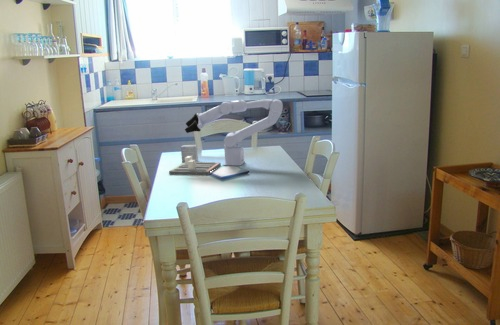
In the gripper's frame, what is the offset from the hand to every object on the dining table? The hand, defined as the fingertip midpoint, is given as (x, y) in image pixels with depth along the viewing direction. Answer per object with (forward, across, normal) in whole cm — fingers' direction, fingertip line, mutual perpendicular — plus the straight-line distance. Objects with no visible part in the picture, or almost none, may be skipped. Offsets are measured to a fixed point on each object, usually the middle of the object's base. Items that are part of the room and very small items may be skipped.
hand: (186, 128), depth 232 cm
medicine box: (+9, -4, +19) cm, 22 cm away
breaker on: (+6, +9, +15) cm, 19 cm away
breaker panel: (+3, +15, +16) cm, 22 cm away
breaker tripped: (+3, +18, +13) cm, 23 cm away
